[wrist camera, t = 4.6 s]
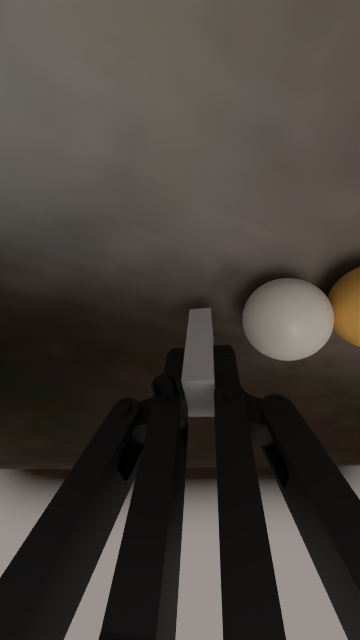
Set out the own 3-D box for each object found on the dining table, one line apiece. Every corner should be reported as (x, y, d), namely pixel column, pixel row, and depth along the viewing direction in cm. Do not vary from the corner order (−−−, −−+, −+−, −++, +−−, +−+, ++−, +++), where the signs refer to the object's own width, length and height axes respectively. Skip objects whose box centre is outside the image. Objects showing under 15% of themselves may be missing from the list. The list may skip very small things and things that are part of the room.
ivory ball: (374, 339, 11) (342, 291, 15) (279, 284, 11) (275, 251, 15) (293, 391, 14) (287, 339, 19) (221, 349, 14) (231, 307, 18)
